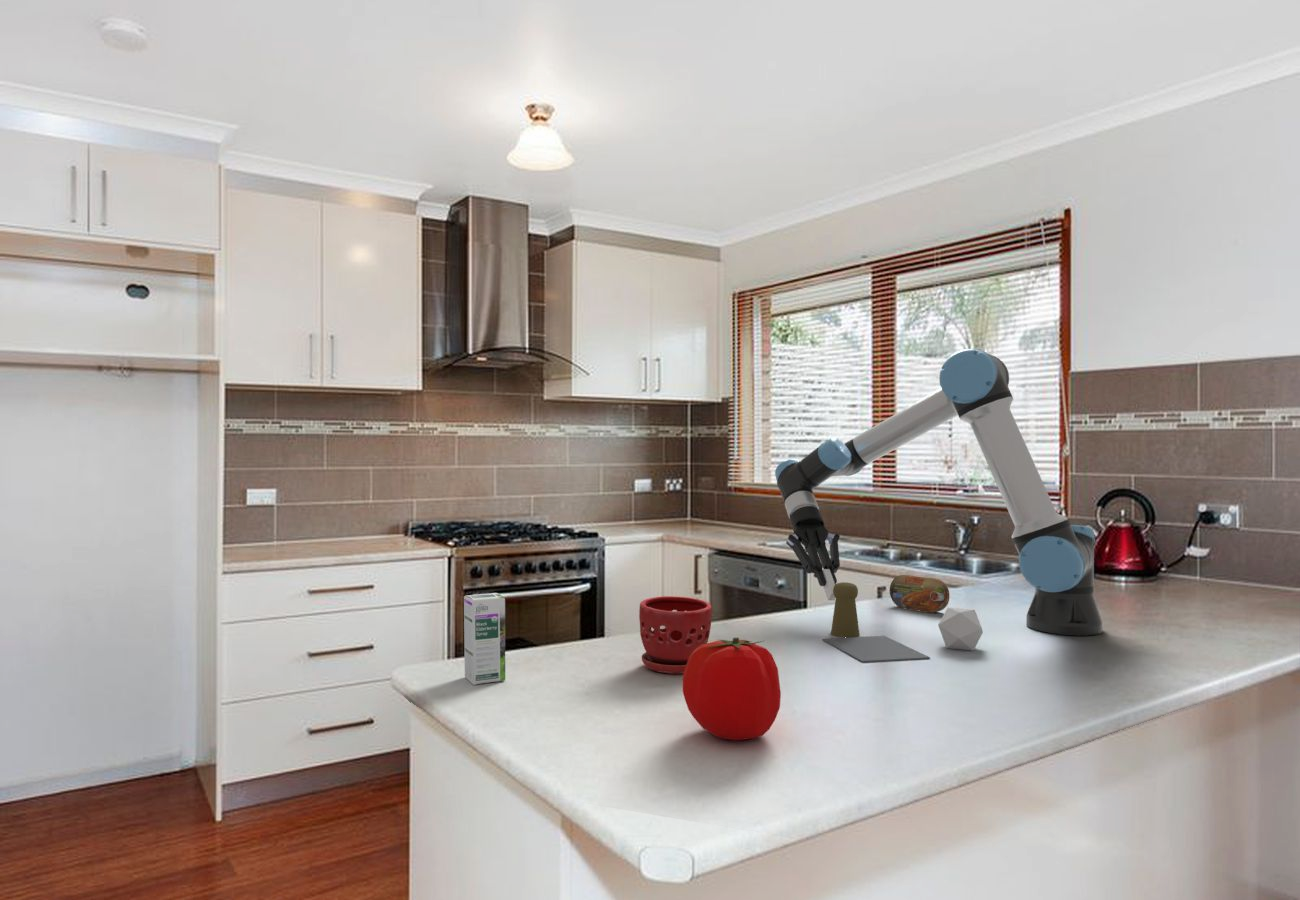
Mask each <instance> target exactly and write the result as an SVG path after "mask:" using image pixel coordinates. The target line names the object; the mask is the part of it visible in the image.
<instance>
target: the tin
mask: <svg viewBox="0 0 1300 900" xmlns="http://www.w3.org/2000/svg"><path fill="white" fill-rule="evenodd" d="M889 597H890V598H891V600H892V602H893V604H894V605H896V607H898V608H900V609H903V608H906V610H909V609H913V610H912V611H916V610H920V611H919V612H922V611H926V612H925V613H928V612H930V614H933V613H937V612H941V611H943V610H944V609H945V608H946V607H948V605H949V602H950V590H949V587H948V586H947V585H946V583H945V582H944V581H943V580H942V579H939V578H936V577H928V576H927V577H926V576H918V575H910V574H900V575H898V576H896V577H895V578H893V580H892V581H891V583H890V585H889Z"/></svg>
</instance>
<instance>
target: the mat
mask: <svg viewBox="0 0 1300 900" xmlns="http://www.w3.org/2000/svg"><path fill="white" fill-rule="evenodd" d="M822 641H823V642H825V643H827V644H829V645H831V646H832V647H834V648H836V649H837V650H839V651H841V652H843V653H845V654H846V655H848V656H850V657H852V658H853V659H855V660H857V661H858V662H860V663H877V662H895V661H896V662H897V661H898V662H899V661H916V660H931V656H928V655H926V654H924V653H923V652H920V651H918V650H915V649H914V648H911V647H909V646H907V645H905V644H903V643H901V642H899V641H897V640H894V639H892V638H890V637H888V636H886V635H870V636H858V637H846V638H845V637H833V638H831V637H830V638H829V637H828V638H827V637H826V638H822Z"/></svg>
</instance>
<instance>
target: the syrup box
mask: <svg viewBox="0 0 1300 900" xmlns="http://www.w3.org/2000/svg"><path fill="white" fill-rule="evenodd" d="M463 620H464V621H463V629H464V630H463V632H464V633H463V635H464V637H463V638H464V639H463V640H464V642H463V643H464V645H463V647H464V678H465V679H466V680H467V681H468V682H469V683H470V684H471V685H473V686H475V685H481V684H488V683H489V684H490V683H496V682H504V681H506V598H505V597H504V596H503V595H502V594H500V593H498V592H492V593H480V594H470V595H464V596H463Z"/></svg>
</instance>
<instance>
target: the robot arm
mask: <svg viewBox="0 0 1300 900" xmlns="http://www.w3.org/2000/svg"><path fill="white" fill-rule="evenodd" d="M938 378H939V380H938V381H939V385H940V388H938V389H936V390H935V391H933V392H931V393H929V394H928V395H926V396H924V397H922V398H921V399H919V400H917V401H915V402H914V403H912V404H910V405H909V406H906V407H905V408H903V409H902V410H899V411H898V412H896V413H895V414H893V415H892V416H890V417H888V418H886V419H885V420H882V421H881V422H879V423H878V424H876V425H874V426H872V427H871V428H868V429H866V430H865V431H864V432H862V433H860V434H858V435H857V436H854V438H852V439H850V440H847V442H845V443H844V442H843V441H842V440H840V439H839V438H838V437H831V438H829V439H827V440H826V441H825V442H822V443H821V444H819V446H817V448H815V449H814V450H812V451H811V452H810V453H808V454H807V455H806V456H805V457H803V458H802V459H801V460H799V459H796V458H795V459H794V458H791V459H790V458H789V459H787V460H786V461H782V462H780V463H779V464H778V465H777V466H776V468H775V471H774V475H775V478H776V485H777V487H778V489H779V492H780V495H781V498H782V501H783V504H784V507H785V510H786V514H787V516H788V518H789V522H790V526H791V529H792V531H793V533H792V534H789V535H788V537H787V538H786V540H785V541H786V542H785V544H786V545H787V546H788V547H790V548H791V550H792V552H793V553H794V554H795V556H796V557H797V559H798V560H799V562H800V563H801V566H802V567H803V568H804V570H805V572H806V573H807V574H813V577H814V578H816V579H817V582H818V585H819V586H820V587H823V589H824V593H825V596H826V598H827V601H835V600H836V598H835V596H834V594H833V588H834V586H835V584H837V583H838V581H837V577H836V573H837V572H838V570H839V568H840V566H841V565H840V564H841V563H840V554H839V553H840V552H839V551H840V549H839V539H840V537H841V535H840V534H839V533H835V534H832V533H830V532H829V530H828V528H826V526H825V522H824V519H823V515H822V513H821V511H820V507H819V505H818V502H817V499H816V497H815V494H814V491H813V490H814V489H815V488H817V487H819V486H820V485H821V484H823V483H824V482H826V481H827V480H828V479H830V478H832V477H842V476H845V477H850V476H853V475H856V474H858V473H860V472H861V471H862V470H863V469H864V468H865V467H866V466H867V465H868V466H869V465H870V464H871V463H873V462H874V461H876V460H879V459H880V458H882V457H884V456H886V455H887V454H889V453H891V452H893V451H895V450H896V449H899V448H900V447H901V446H904V445H906V444H908V443H910V442H912V441H913V440H915V439H917V438H918V437H920V436H922V435H924V434H925V433H928V432H929V431H931V430H933V429H934V428H935V429H936V428H937V427H939V426H940V425H942V424H944V423H946V422H948V421H950V420H952V419H953V418H955V417H957V416H958V417H959V419H960V421H963V422H964V423H968V425H970V426H971V429H972V431H973V432H972V433H974V436H975V439H976V440H977V442H978V445H979V448H980V449H981V453H982V454H983V456H984V458H985V461H986V464H987V466H988V468H989V471H990V472H991V475H992V477H993V479H994V482H995V484H996V486H997V488H998V492H999V493H1000V495H1001V497H1002V500H1003V502H1004V505H1005V506H1006V509H1007V511H1008V514H1009V516H1010V518H1011V520H1012V523H1013V525H1014V530H1013V532H1012V534H1011V540H1012V541H1013V544H1014V547H1015V549H1016V551H1017V553H1018V555H1019V556H1018V566H1019V570H1020V572H1021V574H1022V577H1023V578H1024V579H1025V580H1026V582H1028V584H1030V585H1031V586H1032V587H1034V588H1035V590H1034V594H1033V597H1032V599H1031V603H1030V605H1029V608H1028V610H1027V613H1026V618H1025V620H1026V621H1025V622H1026V626H1027V627H1028V628H1029V629H1032V630H1036V631H1040V632H1043V633H1045V632H1046V633H1049V634H1057V635H1066V636H1094V635H1095V636H1096V635H1100V634H1102V633H1103V619H1102V617H1101V615H1100V611H1099V608H1098V605H1097V603H1096V600H1095V596H1094V595H1095V594H1094V593H1095V591H1094V586H1095V585H1094V583H1095V581H1094V580H1095V579H1094V578H1095V573H1094V572H1095V567H1094V566H1095V543H1096V538H1095V532H1094V530H1093V528H1092V527H1090V526H1087V525H1078V524H1071V522H1070V520H1069V518H1068V517H1067V516H1065V515H1062V514H1059V513H1058V512H1057V511H1056V509H1055V506H1054V504H1053V502H1052V500H1051V498H1050V495H1049V493H1048V491H1047V489H1046V487H1045V484H1044V482H1043V480H1042V477H1041V475H1040V473H1039V471H1038V469H1037V465H1036V464H1035V462H1034V459H1033V457H1032V456H1031V452H1030V451H1029V449H1028V447H1027V444H1026V442H1025V439H1024V438H1023V435H1022V434H1021V433H1022V432H1021V430H1020V429H1019V426H1018V424H1017V422H1016V420H1015V417H1014V416H1013V413H1012V411H1011V405H1012V403H1013V401H1014V396H1013V395H1012V393H1011V390H1010V388H1009V384H1010V373H1009V370H1008V368H1007V366H1006V364H1005V363H1004V362H1003V361H1002V360H1001V359H1000V358H998V357H997V356H995V355H993V354H990V353H987V351H983V350H981V349H975V348H968V349H963V350H960V351H959V350H958V351H957V352H955V353H953V354H952V355H949V357H948V358H947V359H946V360H945V361H944V362H943V365H942V366H941V369H940V371H939V377H938ZM826 540H828V544H829V551H828V549H827V545H826Z"/></svg>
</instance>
